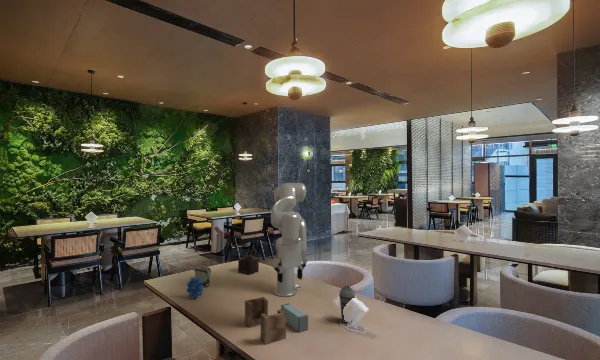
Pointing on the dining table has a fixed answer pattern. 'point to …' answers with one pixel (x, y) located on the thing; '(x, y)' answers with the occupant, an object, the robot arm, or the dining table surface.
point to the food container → (203, 275)
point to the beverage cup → (345, 297)
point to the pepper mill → (248, 263)
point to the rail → (295, 317)
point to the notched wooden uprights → (265, 320)
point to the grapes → (195, 287)
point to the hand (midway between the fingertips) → (290, 280)
